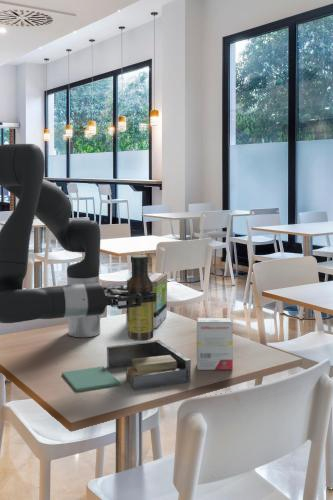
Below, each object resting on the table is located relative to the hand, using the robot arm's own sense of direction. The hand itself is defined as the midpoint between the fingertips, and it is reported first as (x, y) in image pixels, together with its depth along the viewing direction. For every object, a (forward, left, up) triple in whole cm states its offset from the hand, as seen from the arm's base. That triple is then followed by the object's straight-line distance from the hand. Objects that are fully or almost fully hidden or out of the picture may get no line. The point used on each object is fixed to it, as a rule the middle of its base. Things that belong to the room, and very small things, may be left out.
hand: (149, 293), depth 142 cm
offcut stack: (+8, -2, -18) cm, 20 cm away
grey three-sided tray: (+4, -2, -18) cm, 19 cm away
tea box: (-41, +17, -19) cm, 48 cm away
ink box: (+6, +15, -19) cm, 24 cm away
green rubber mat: (+2, -15, -18) cm, 24 cm away
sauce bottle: (0, -2, -11) cm, 11 cm away
